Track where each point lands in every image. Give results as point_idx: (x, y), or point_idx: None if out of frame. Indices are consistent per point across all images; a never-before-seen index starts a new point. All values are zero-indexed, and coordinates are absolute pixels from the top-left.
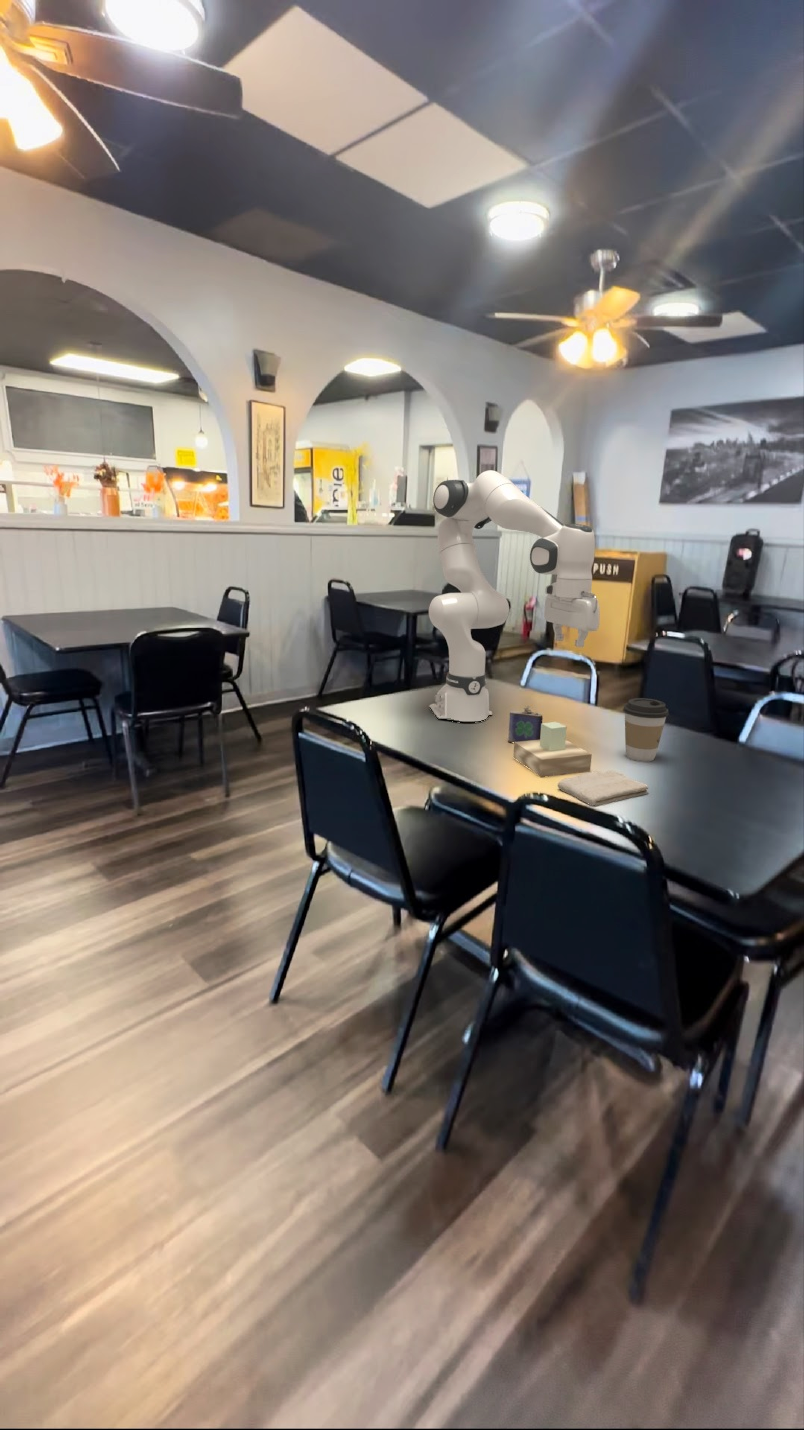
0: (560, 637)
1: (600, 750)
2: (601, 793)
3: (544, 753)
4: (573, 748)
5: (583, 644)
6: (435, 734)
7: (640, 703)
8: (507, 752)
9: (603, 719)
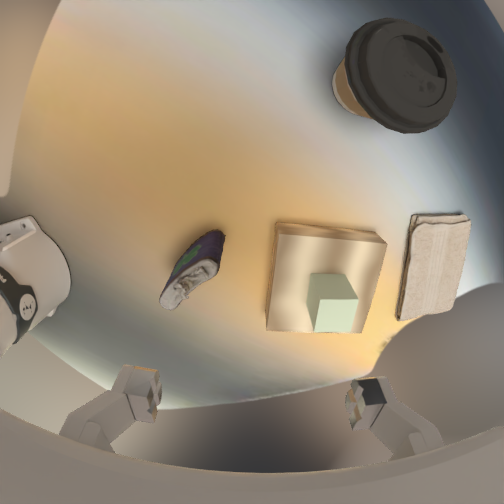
0: (152, 395)
1: (293, 130)
2: (452, 297)
3: None
4: (348, 255)
5: (388, 384)
6: (119, 351)
7: (409, 84)
8: (233, 305)
9: (114, 3)
